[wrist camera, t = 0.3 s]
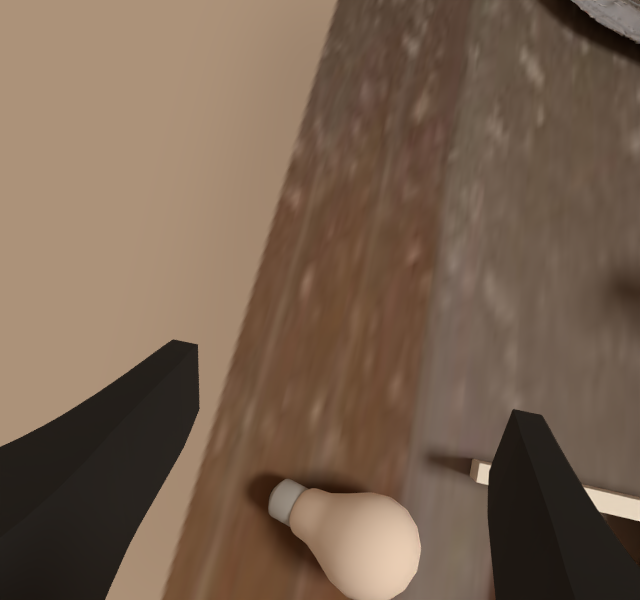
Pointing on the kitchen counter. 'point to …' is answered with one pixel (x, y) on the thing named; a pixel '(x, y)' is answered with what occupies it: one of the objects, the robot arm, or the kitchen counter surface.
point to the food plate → (615, 15)
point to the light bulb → (352, 537)
